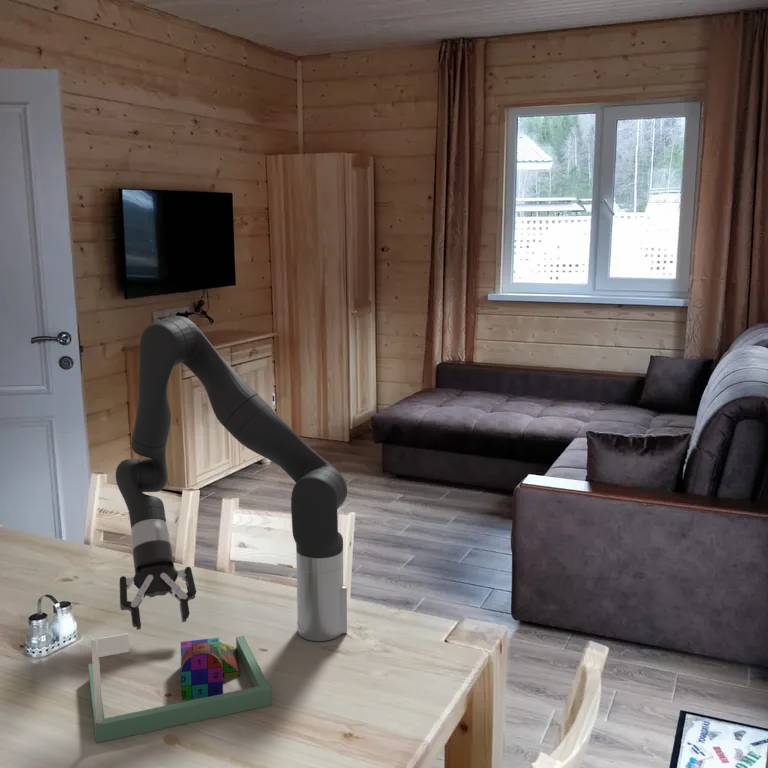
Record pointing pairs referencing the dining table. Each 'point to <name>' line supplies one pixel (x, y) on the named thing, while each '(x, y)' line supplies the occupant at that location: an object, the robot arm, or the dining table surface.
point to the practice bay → (174, 712)
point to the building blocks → (206, 667)
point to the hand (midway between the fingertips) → (162, 624)
